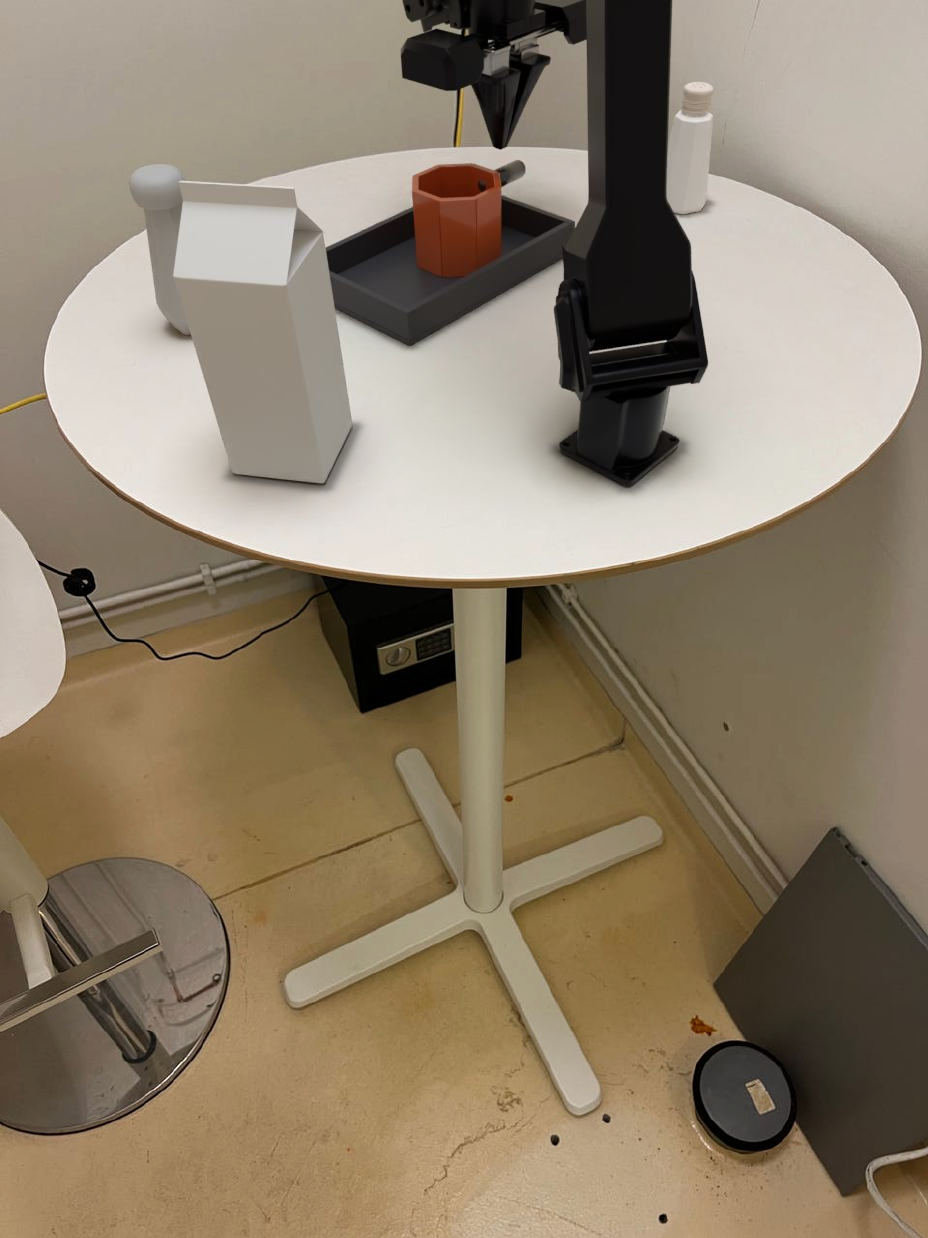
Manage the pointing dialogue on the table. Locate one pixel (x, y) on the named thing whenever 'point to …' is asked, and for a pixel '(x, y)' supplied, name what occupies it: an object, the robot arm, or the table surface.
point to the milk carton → (263, 328)
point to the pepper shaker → (690, 150)
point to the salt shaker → (162, 233)
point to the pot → (459, 216)
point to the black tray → (424, 302)
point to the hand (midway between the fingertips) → (499, 147)
